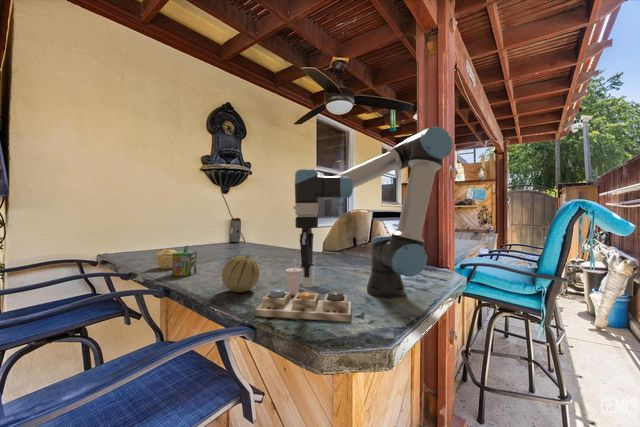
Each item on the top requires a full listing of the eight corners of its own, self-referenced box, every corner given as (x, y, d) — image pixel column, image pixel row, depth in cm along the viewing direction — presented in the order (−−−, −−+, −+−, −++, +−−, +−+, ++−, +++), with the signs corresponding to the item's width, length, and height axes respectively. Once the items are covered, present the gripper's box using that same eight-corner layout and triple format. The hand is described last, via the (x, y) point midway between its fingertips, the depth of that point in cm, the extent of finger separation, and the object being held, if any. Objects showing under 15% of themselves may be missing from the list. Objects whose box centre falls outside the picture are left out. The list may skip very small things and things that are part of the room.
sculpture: (154, 271, 146) (154, 251, 146) (159, 266, 157) (159, 248, 157) (177, 269, 150) (177, 250, 150) (181, 265, 161) (181, 247, 161)
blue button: (286, 296, 94) (286, 288, 94) (282, 300, 89) (282, 293, 89) (272, 295, 94) (272, 288, 94) (267, 300, 90) (267, 292, 90)
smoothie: (298, 296, 104) (299, 260, 104) (283, 295, 105) (283, 260, 105) (303, 292, 110) (303, 257, 110) (288, 291, 112) (288, 257, 112)
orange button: (314, 299, 93) (314, 292, 93) (312, 304, 88) (312, 297, 88) (300, 299, 93) (300, 291, 93) (297, 303, 88) (297, 296, 88)
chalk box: (179, 272, 144) (179, 244, 143) (196, 272, 145) (197, 244, 144) (171, 276, 134) (171, 246, 134) (190, 276, 135) (190, 246, 135)
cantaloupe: (216, 290, 112) (217, 254, 112) (250, 284, 121) (250, 251, 121) (229, 299, 100) (229, 259, 100) (265, 292, 109) (265, 255, 109)
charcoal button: (343, 298, 91) (343, 291, 91) (342, 303, 86) (343, 296, 86) (328, 298, 92) (328, 290, 92) (327, 303, 87) (327, 295, 87)
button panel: (350, 307, 93) (351, 294, 93) (350, 321, 81) (350, 306, 81) (266, 303, 97) (267, 290, 97) (254, 315, 85) (254, 301, 85)
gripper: (299, 215, 97) (300, 280, 97) (291, 216, 84) (292, 291, 85) (320, 215, 96) (320, 281, 97) (314, 216, 83) (315, 292, 84)
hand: (307, 286), depth 91 cm, fingers closed
